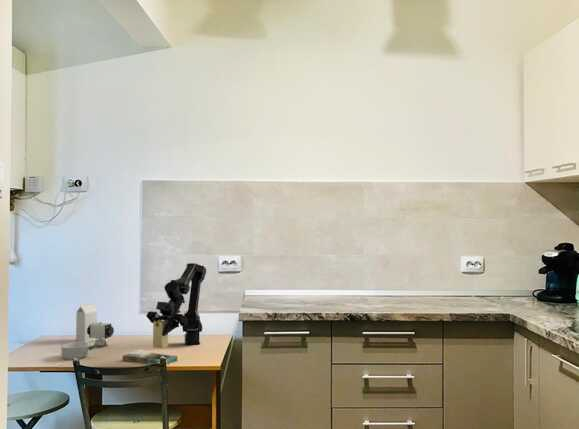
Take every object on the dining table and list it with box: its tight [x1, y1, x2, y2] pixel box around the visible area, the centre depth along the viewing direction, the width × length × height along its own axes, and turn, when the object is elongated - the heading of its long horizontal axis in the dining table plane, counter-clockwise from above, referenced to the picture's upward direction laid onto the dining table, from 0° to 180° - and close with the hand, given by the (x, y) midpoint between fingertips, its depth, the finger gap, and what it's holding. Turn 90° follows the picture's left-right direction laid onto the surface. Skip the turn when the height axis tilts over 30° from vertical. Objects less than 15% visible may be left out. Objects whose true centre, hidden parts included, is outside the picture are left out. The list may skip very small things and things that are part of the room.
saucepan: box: [60, 341, 109, 361], centre depth 217 cm, size 12×20×6 cm, turn 92°
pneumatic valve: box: [87, 321, 115, 349], centre depth 235 cm, size 6×12×12 cm, turn 79°
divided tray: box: [122, 349, 178, 365], centre depth 211 cm, size 22×9×3 cm, turn 67°
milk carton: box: [75, 302, 98, 343], centre depth 247 cm, size 7×7×19 cm
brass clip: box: [152, 320, 169, 349], centre depth 209 cm, size 4×4×11 cm
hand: (158, 335), depth 208 cm, fingers closed on brass clip, 4 cm apart
